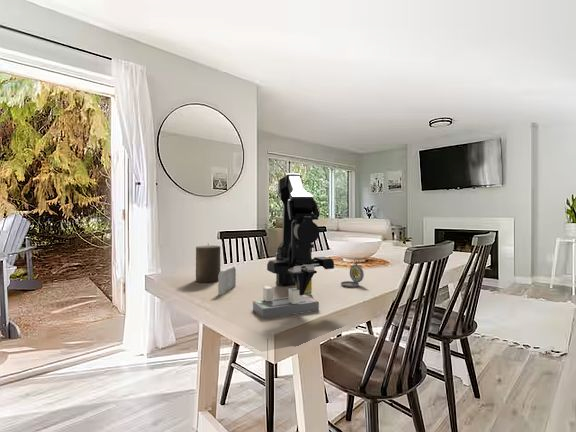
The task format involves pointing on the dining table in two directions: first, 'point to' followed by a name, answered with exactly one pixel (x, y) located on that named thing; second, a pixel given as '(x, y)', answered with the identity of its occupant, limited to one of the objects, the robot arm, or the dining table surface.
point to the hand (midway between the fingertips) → (301, 295)
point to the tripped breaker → (293, 295)
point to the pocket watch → (354, 271)
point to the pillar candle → (207, 263)
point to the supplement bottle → (308, 289)
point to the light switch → (226, 280)
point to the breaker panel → (284, 306)
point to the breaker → (268, 293)
